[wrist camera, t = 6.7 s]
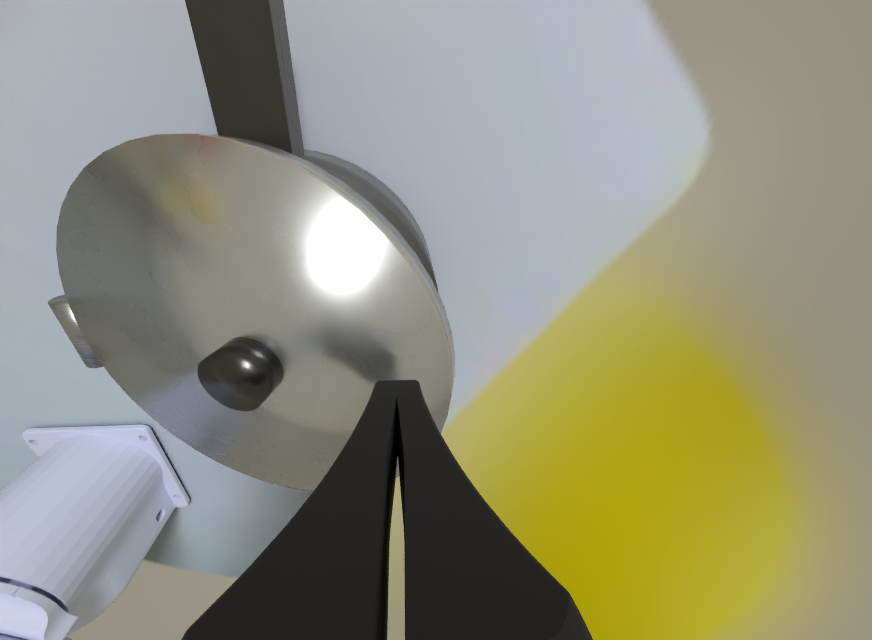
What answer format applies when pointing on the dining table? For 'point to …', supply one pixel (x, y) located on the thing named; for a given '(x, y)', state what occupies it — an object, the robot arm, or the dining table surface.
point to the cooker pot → (275, 97)
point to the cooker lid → (245, 300)
